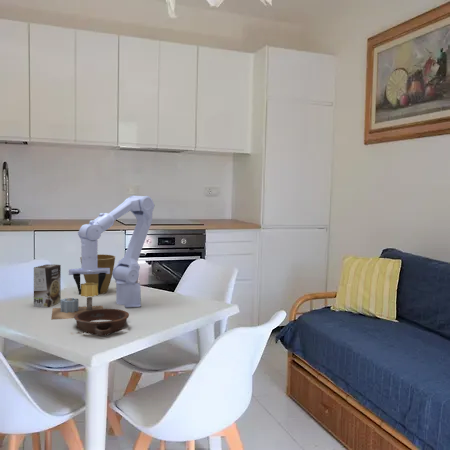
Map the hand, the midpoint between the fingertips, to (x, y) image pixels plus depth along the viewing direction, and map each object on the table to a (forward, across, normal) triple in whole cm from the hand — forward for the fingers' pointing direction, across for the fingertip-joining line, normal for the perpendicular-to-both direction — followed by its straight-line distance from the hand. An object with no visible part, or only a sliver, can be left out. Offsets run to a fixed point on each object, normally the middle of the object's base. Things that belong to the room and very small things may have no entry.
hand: (89, 293), depth 178 cm
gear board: (+7, -4, -3) cm, 9 cm away
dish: (+8, +3, -22) cm, 23 cm away
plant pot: (+7, +5, +35) cm, 36 cm away
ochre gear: (0, 0, 0) cm, 0 cm away
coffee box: (+7, -15, +12) cm, 21 cm away
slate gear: (+6, -7, 0) cm, 9 cm away
